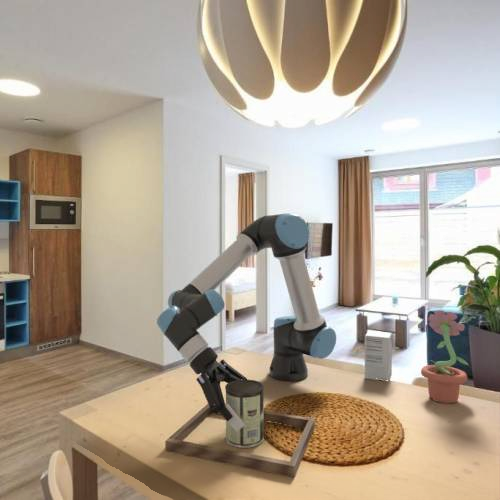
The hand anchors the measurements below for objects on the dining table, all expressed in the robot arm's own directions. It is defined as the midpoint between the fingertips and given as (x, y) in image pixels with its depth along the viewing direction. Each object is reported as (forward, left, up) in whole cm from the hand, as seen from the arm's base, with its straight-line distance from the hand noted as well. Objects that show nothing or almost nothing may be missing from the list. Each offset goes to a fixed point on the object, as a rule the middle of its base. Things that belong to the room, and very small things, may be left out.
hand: (250, 417), depth 102 cm
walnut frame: (-2, 0, -6) cm, 6 cm away
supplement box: (+13, +69, -6) cm, 70 cm away
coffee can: (-2, 0, -6) cm, 7 cm away
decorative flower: (+38, +59, -6) cm, 70 cm away
